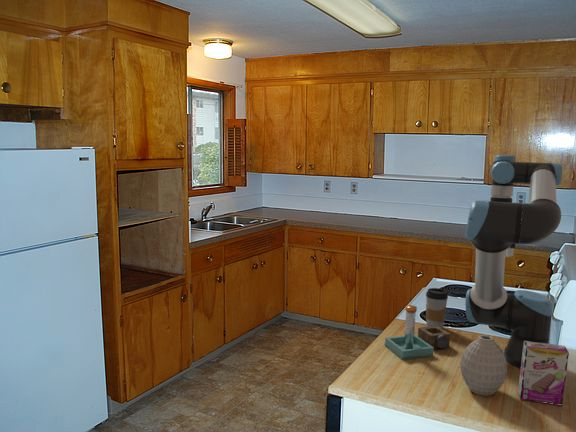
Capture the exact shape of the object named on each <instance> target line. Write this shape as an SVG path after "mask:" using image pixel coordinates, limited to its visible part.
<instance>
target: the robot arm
mask: <svg viewBox="0 0 576 432" xmlns="http://www.w3.org/2000/svg"><path fill="white" fill-rule="evenodd" d="M490 175H491V179H492V182H491V188H490V195H491V197H490V199H489V200H490V201H489V200H488V199H485V200H474V201H473V202H471V204H470V208H469V212H468V218H467V222H466V229H465V234H464V237H465V238H466V239H467V240H469V241H470V243H471V245H472V247H474V248H475V267H474V268H475V270H474V271H475V273H474V274H475V275H474V277H475V278H474V282H475V283H474V285H473V286H472V288H469V289H467V291H466V294H465V304H464V305H465V315H466V318H467V320H468V321H469V322H471V323H474V324H477V325H482V326H483V325H484V326H491V327H496V328H502V329H508V330H509V329H511V332H510V337H509V339H508V341H507V344H506V346H505V347H504V350H503V353H504V355H505V358H506V361H507V363H509V364H510V365H513V366H514V367H517V368H520V369H521V361H522V352H523V343H524V341H531V342H538V343H546V344H550V337H551V336H550V335H551V327H552V317H553V302H552V300H551V299H549V298H548V297H547V296H546V295H544V294H541V293H537V292H535V291H531V290H530V291H529V290H525V289H523V290H522V289H519V290H518V289H517V290H516V291H515V292H514V294H512V293H507V292H508V291H507V289H505V287H504V281H505V280H504V279H505V269H506V266H505V265H506V258H512V257H514V251H515V248H516V245H532V244H536V243H538V242H541V241H543V240H545V239H547V238H549V237H550V236H551V235H552V234H553V233H555V231H556V230H557V229H558V227H560V223H561V221H562V211H561V207H560V206H559V205H558V203H557V186H560V185H561V183H562V177H563V165H562V164H560V163H555V162H554V163H553V162H527V161H517V157H516V155H513V154H511V155H510V154H496V155H494V158H493V161H492V166H491V169H490ZM514 184H517V185H518V184H519V185H522V184H523V185H529V193H528V194H529V195H528V203H526V202H524V203H523V202H522V203H521V202H513V198H512V197H513V195H514Z"/></svg>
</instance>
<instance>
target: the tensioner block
mask: <svg viewBox="0 0 576 432" xmlns="http://www.w3.org/2000/svg"><path fill="white" fill-rule="evenodd" d="M417 330H418V331H417V336H418V337H419V338H421V339H422V340H423V341H425V342H426V343H428V344H429V345H431V346H432V347H434V350H435V349H444V348H450V344H451V343H450V341H451V333H450V332H449V331H446V330H445V329H444V328H440V327H438V326H431V327H427V326H424V327H418V328H417Z"/></svg>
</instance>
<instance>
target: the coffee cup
mask: <svg viewBox="0 0 576 432" xmlns="http://www.w3.org/2000/svg"><path fill="white" fill-rule="evenodd" d="M425 296H426V299H425V300H426V302H425V303H426V304H425V309H426V310H425V312H426V313H425V316H426V317H425V318H426V325H425V326H426V327H431V326H438V327H440V328H442V329H444V323H445V319H446V312H447V311H446V310H447V301H448V299H449V295H448V291H447V290H445V289H443V288H439V287H438V288H437V287H432V288H431V287H430V288H427V291H426V293H425Z"/></svg>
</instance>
